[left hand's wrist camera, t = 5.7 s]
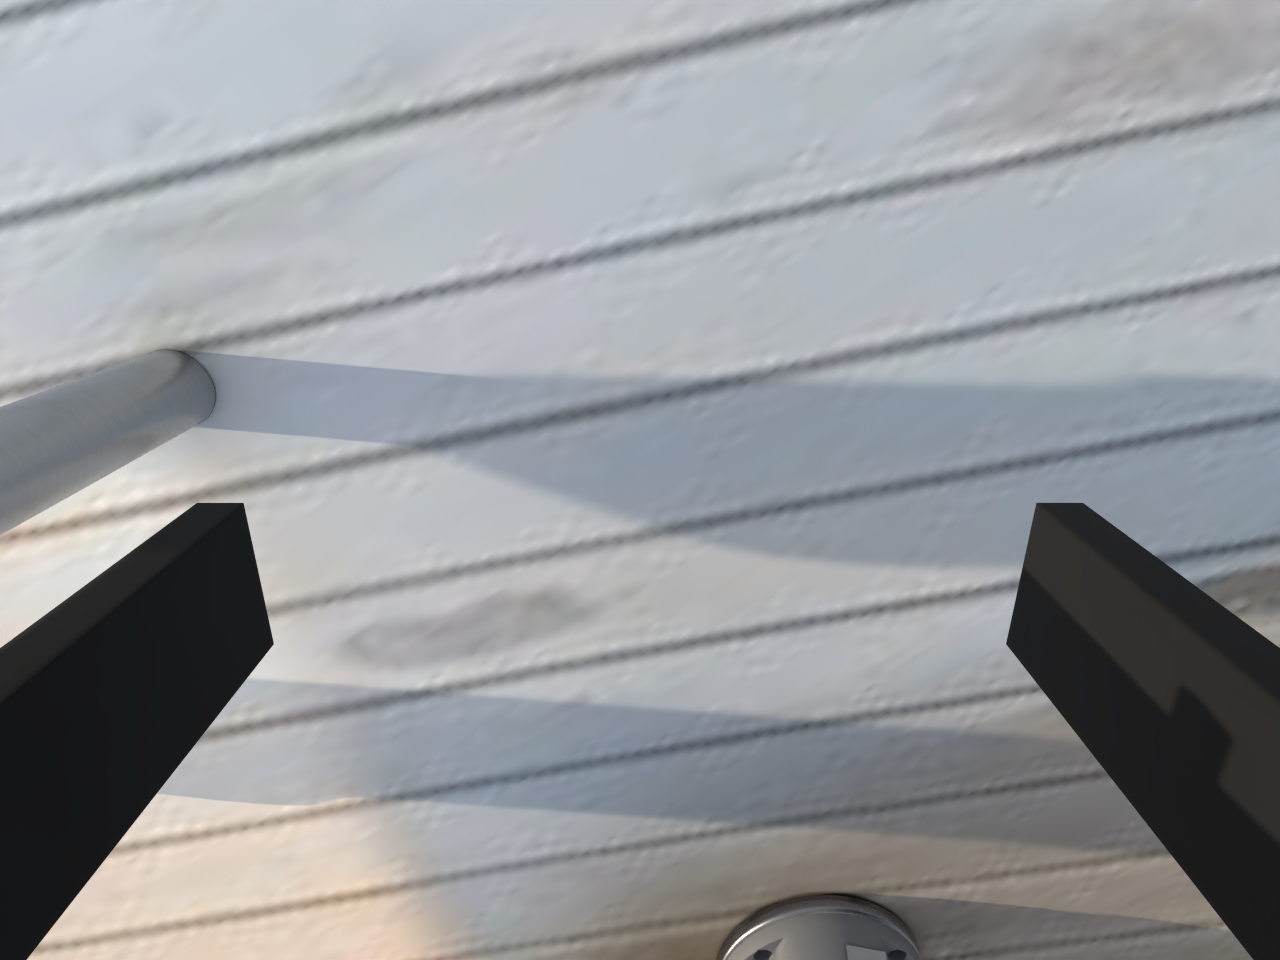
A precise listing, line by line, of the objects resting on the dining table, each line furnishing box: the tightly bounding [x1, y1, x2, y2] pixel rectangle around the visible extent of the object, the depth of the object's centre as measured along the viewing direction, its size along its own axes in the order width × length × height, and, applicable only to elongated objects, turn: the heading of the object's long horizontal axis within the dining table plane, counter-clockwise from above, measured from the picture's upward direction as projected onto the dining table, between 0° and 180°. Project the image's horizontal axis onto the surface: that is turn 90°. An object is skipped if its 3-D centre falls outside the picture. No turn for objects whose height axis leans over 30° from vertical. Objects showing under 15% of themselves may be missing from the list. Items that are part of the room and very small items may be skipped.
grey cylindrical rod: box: [0, 350, 215, 535], centre depth 32 cm, size 4×4×18 cm
